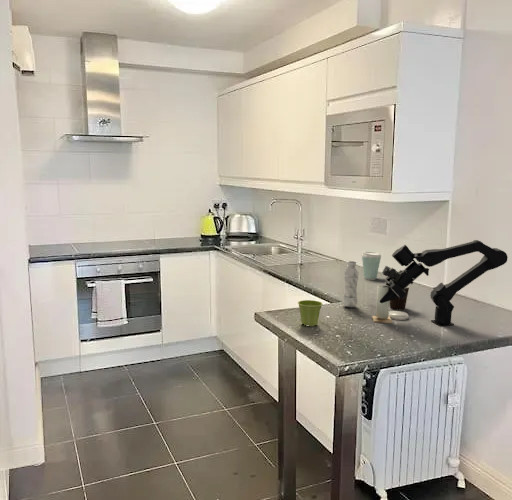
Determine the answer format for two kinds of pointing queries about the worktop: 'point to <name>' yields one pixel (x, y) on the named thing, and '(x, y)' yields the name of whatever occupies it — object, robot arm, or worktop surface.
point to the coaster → (382, 319)
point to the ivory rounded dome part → (398, 315)
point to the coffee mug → (399, 302)
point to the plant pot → (309, 312)
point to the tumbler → (382, 308)
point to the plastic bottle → (350, 285)
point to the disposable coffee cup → (370, 264)
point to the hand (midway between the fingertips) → (379, 300)
